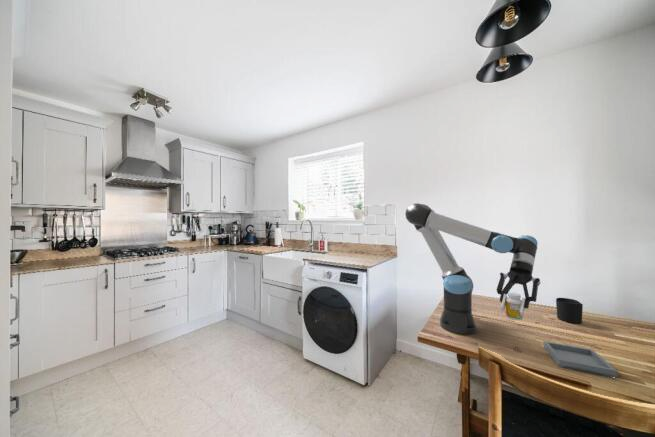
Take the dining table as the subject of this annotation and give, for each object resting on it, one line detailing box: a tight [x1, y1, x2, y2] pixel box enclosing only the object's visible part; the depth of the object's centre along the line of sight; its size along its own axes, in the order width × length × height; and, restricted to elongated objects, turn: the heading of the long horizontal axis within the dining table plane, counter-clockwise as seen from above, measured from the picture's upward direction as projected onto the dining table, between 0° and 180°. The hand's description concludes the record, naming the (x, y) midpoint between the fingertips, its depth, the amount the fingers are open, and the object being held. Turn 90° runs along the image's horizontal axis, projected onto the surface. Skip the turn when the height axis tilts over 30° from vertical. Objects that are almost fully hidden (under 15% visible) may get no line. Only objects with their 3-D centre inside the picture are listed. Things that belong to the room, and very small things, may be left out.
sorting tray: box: [543, 340, 618, 379], centre depth 85 cm, size 14×14×2 cm
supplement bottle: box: [505, 292, 524, 321], centre depth 96 cm, size 5×5×10 cm
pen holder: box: [555, 297, 584, 325], centre depth 119 cm, size 9×9×10 cm
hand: (511, 311), depth 94 cm, fingers closed on supplement bottle, 5 cm apart
